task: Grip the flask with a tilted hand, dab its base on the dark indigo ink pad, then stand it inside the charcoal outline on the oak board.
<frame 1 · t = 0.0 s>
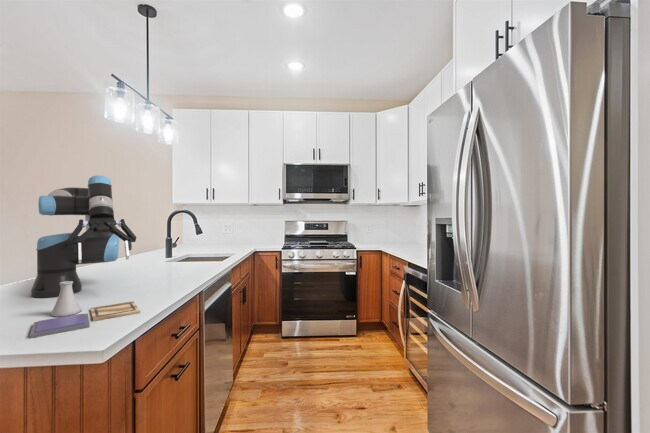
hand: (104, 259, 108), 15 cm above the countertop, tool tilted 35°, fingers open, 13 cm apart
ink pad: (61, 326, 86), on the countertop
marked board: (115, 311, 99), on the countertop
flask: (66, 314, 97), on the countertop
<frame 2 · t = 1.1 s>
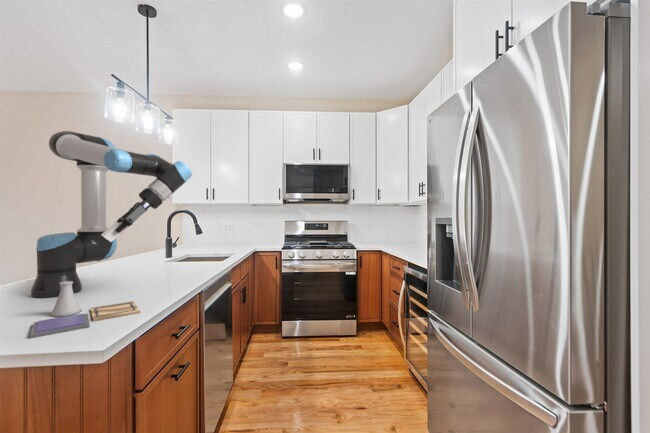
hand: (105, 238, 103), 23 cm above the countertop, tool tilted 45°, fingers open, 13 cm apart
nothing on the countertop moved.
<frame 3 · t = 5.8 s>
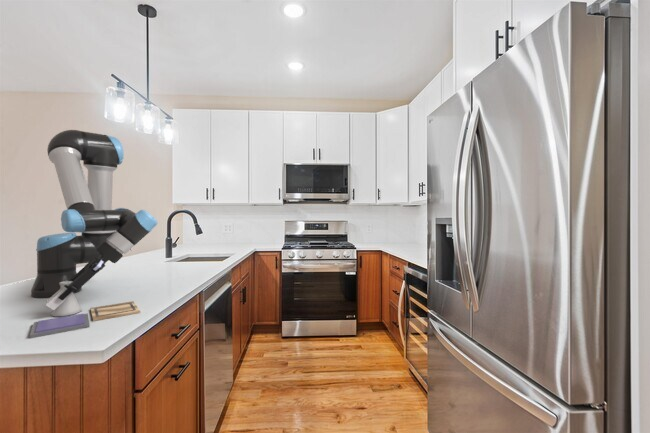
hand: (50, 305, 95), 3 cm above the countertop, tool tilted 45°, fingers closed on flask, 4 cm apart
flask: (66, 314, 97), on the countertop, touching gripper
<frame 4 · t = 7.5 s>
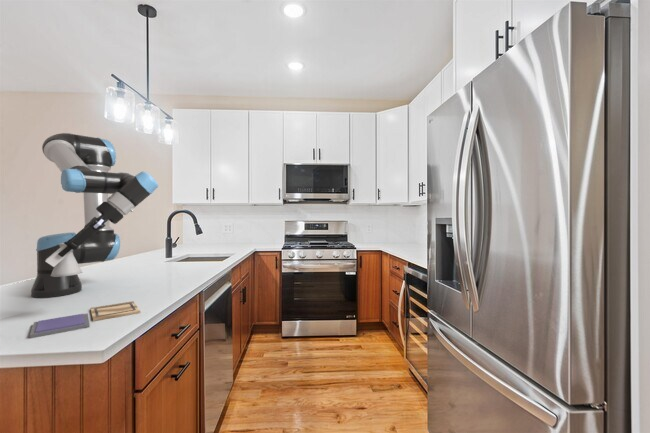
hand: (49, 263, 93), 17 cm above the countertop, tool tilted 45°, fingers closed on flask, 3 cm apart
flask: (66, 275, 96), point 12 cm above the countertop, touching gripper
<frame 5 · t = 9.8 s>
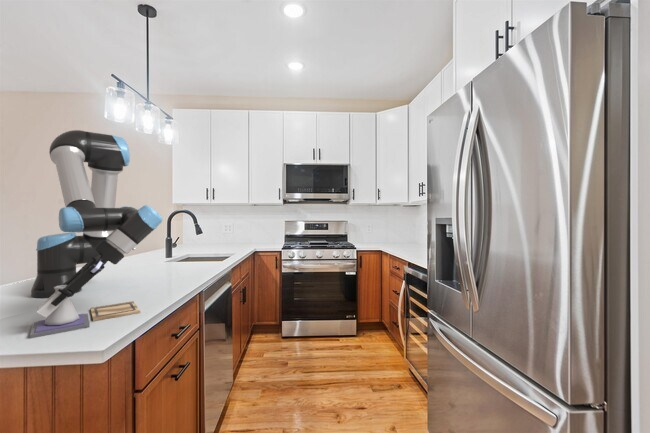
hand: (42, 312, 84), 5 cm above the countertop, tool tilted 45°, fingers closed on flask, 3 cm apart
flask: (62, 322, 86), point 1 cm above the countertop, touching gripper, ink pad
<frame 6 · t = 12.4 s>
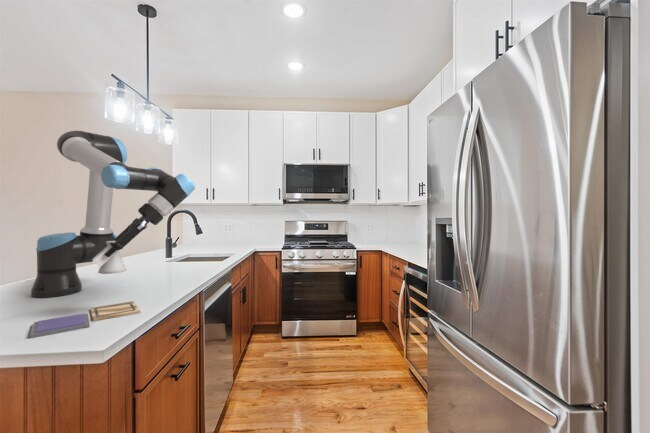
hand: (96, 263, 96), 16 cm above the countertop, tool tilted 45°, fingers closed on flask, 3 cm apart
flask: (112, 273, 99), point 12 cm above the countertop, touching gripper
when the fingers open (5 cm above the countertop, at t = 15.3 s): flask drops 1 cm, resting on marked board.
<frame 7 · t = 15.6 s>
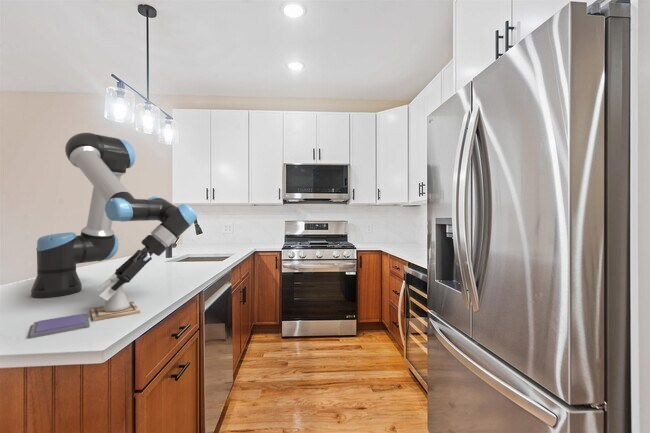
hand: (102, 294, 97), 6 cm above the countertop, tool tilted 45°, fingers open, 8 cm apart
flask: (116, 309, 100), resting on marked board
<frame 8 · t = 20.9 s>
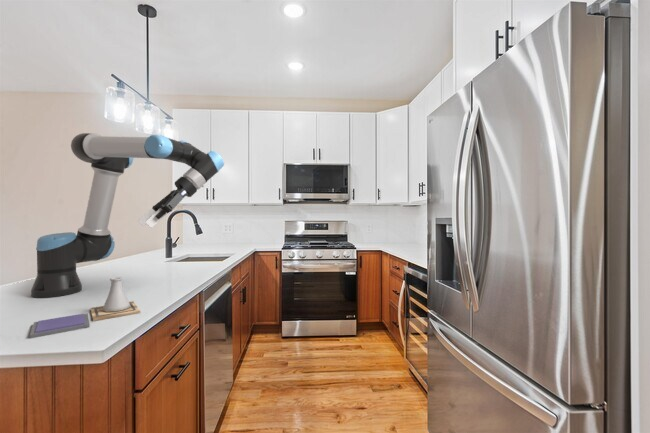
hand: (144, 224, 106), 28 cm above the countertop, tool tilted 45°, fingers open, 13 cm apart
nothing on the countertop moved.
at the end: flask 0.4 cm off-centre on the marked board, point 0.4 cm above the marked board's base; flask tilted 0°; the gripper is holding nothing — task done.
